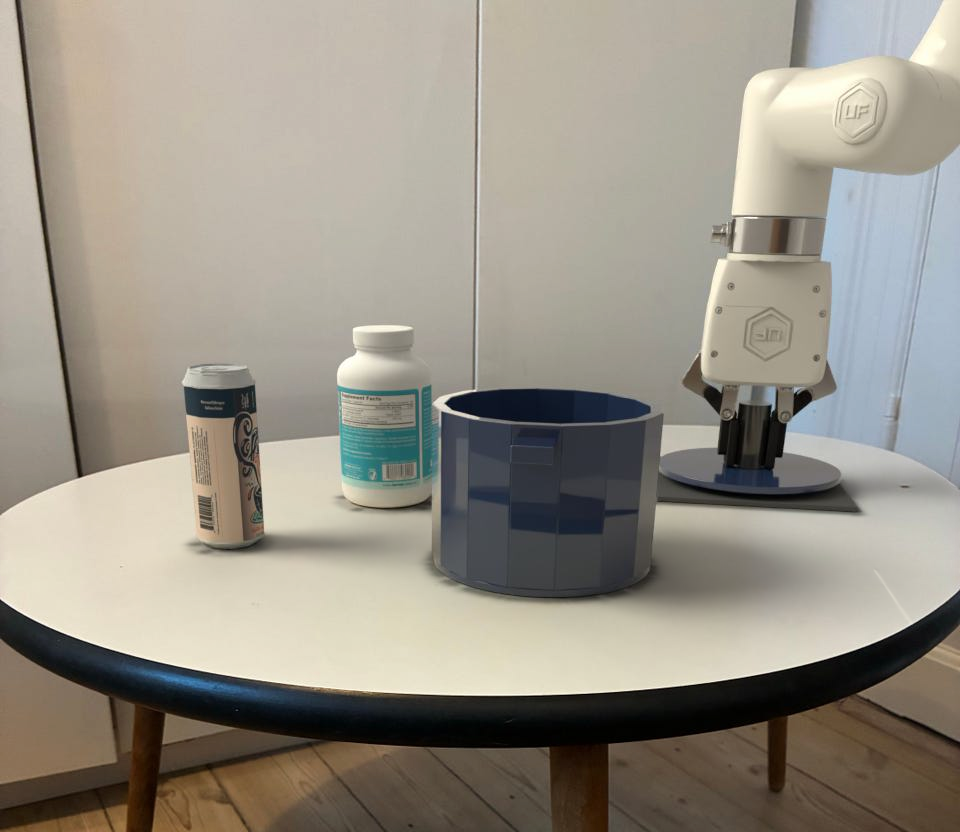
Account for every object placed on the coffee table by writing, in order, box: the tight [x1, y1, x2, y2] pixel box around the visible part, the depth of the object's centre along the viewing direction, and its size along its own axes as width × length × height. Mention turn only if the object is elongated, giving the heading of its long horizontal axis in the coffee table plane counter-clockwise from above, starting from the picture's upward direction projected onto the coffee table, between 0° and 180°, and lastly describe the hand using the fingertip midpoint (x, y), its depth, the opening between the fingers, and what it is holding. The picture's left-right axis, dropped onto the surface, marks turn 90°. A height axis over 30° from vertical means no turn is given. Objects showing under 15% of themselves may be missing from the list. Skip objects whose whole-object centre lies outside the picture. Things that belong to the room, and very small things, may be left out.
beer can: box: [181, 362, 266, 550], centre depth 70 cm, size 5×5×12 cm
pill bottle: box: [336, 324, 433, 509], centre depth 82 cm, size 8×7×14 cm
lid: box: [659, 399, 842, 495], centre depth 90 cm, size 16×16×7 cm
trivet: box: [656, 455, 858, 513], centre depth 91 cm, size 16×16×1 cm
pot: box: [431, 386, 665, 598], centre depth 67 cm, size 15×20×10 cm
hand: (748, 462), depth 91 cm, fingers closed on lid, 2 cm apart
